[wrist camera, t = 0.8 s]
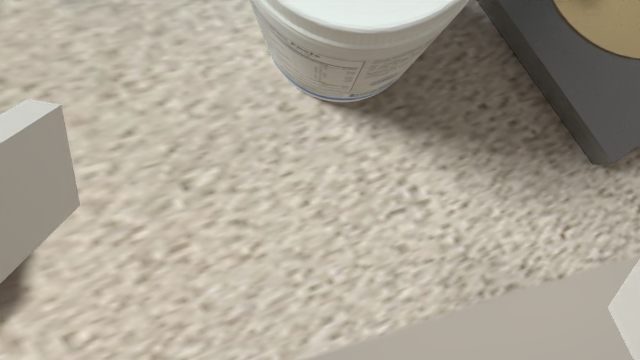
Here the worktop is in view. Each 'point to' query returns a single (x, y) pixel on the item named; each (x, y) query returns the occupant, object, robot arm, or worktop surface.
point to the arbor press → (581, 65)
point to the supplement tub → (349, 41)
